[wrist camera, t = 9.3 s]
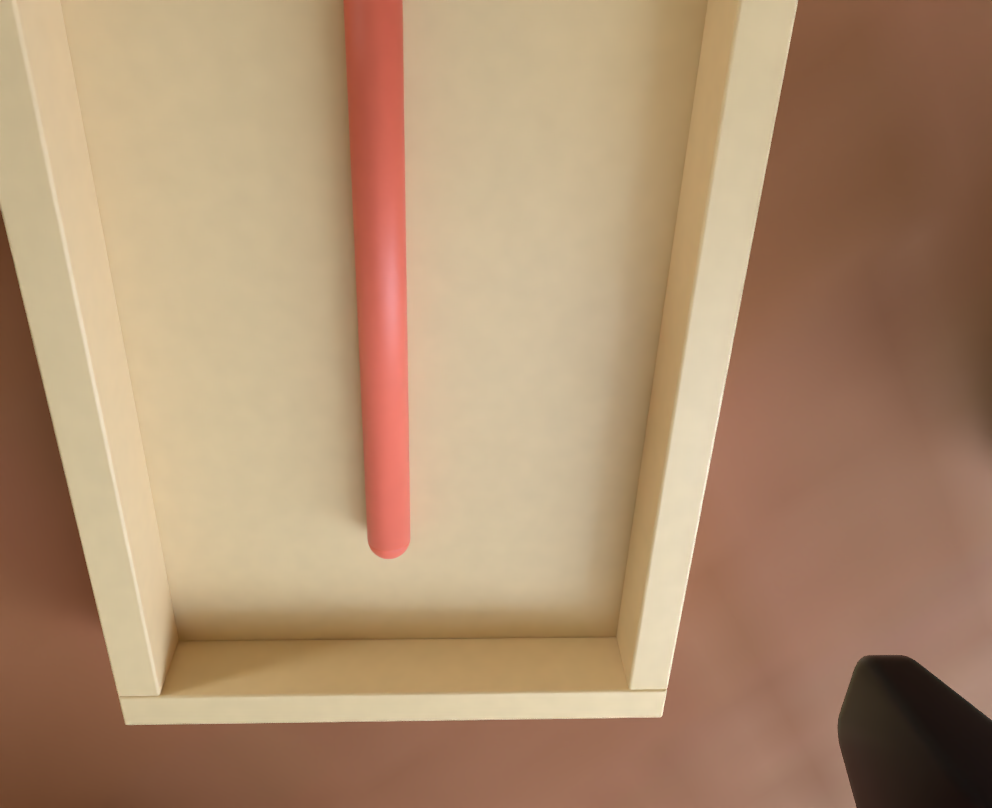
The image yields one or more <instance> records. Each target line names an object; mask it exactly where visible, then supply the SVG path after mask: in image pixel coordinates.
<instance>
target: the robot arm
mask: <svg viewBox="0 0 992 808" xmlns="http://www.w3.org/2000/svg"><path fill="white" fill-rule="evenodd" d="M838 738H839V744H840V748H841V752H842V755H843V759H844V763H845V766H846V770H847V774H848V777H849V781H850V785H851V788H852V792H853V796H854V799H855V803H856V807H857V808H992V720H991V719H989V718H988V717H987V716H986V715H984V714H983V713H982V712H980V711H979V710H978V709H977V708H975V707H974V706H973V705H971V704H970V703H969V702H968V701H966V700H965V699H964V698H962V697H961V696H960V695H959V694H957V693H956V692H955V691H954V690H952V689H951V688H950V687H948V686H947V685H946V684H945V683H943V682H942V681H941V680H939V679H938V678H937V677H936V676H934V675H933V674H932V673H930V672H929V671H928V670H927V669H925V668H924V667H923V666H922V665H920V664H919V663H918V662H916V661H915V660H913V659H911V658H909V657H907V656H902V655H868V656H865V657H863V658H861V659H860V660H859V661H858V662H857V665H856V667H855V669H854V672H853V675H852V678H851V681H850V684H849V687H848V690H847V693H846V696H845V699H844V702H843V705H842V708H841V711H840V714H839V719H838Z"/></svg>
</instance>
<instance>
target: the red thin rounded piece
mask: <svg viewBox="0 0 992 808" xmlns="http://www.w3.org/2000/svg"><path fill="white" fill-rule="evenodd" d="M343 3H344V25H345V48H346V70H347V93H348V115H349V137H350V160H351V182H352V204H353V227H354V249H355V271H356V294H357V316H358V338H359V361H360V383H361V405H362V428H363V450H364V472H365V495H366V517H367V539H368V544H369V547H370V549H371V550H372V552H373V553H374V554H375V555H377V556H378V557H380V558H383V559H394V558H397V557H399V556H400V555H402V554H403V553H404V552H405V551H406V550H407V548H408V546H409V543H410V475H409V406H408V338H407V269H406V201H405V132H404V63H403V0H343Z"/></svg>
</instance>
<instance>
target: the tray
mask: <svg viewBox="0 0 992 808" xmlns="http://www.w3.org/2000/svg"><path fill="white" fill-rule="evenodd" d="M797 3H798V0H403V63H404V132H405V201H406V269H407V338H408V406H409V475H410V543H409V546H408V548H407V550H406V551H405V552H404V553H403V554H402V555H400V556H399V557H397V558H394V559H383V558H380V557H378V556H377V555H375V554H374V553H373V552H372V550H371V549H370V547H369V544H368V539H367V517H366V495H365V472H364V450H363V428H362V405H361V383H360V361H359V338H358V316H357V294H356V271H355V249H354V227H353V204H352V182H351V160H350V137H349V115H348V93H347V70H346V48H345V25H344V3H343V0H0V208H1V212H2V216H3V220H4V224H5V229H6V233H7V237H8V241H9V245H10V249H11V253H12V258H13V262H14V266H15V270H16V274H17V278H18V282H19V287H20V291H21V295H22V299H23V303H24V307H25V311H26V316H27V320H28V324H29V328H30V332H31V336H32V340H33V345H34V349H35V353H36V357H37V361H38V365H39V369H40V374H41V378H42V382H43V386H44V390H45V394H46V398H47V403H48V407H49V411H50V415H51V419H52V423H53V427H54V432H55V436H56V440H57V444H58V448H59V452H60V456H61V461H62V465H63V469H64V473H65V477H66V481H67V485H68V490H69V494H70V498H71V502H72V506H73V510H74V514H75V519H76V523H77V527H78V531H79V535H80V539H81V543H82V548H83V552H84V556H85V560H86V564H87V568H88V572H89V577H90V581H91V585H92V589H93V593H94V597H95V601H96V606H97V610H98V614H99V618H100V622H101V626H102V630H103V635H104V639H105V643H106V647H107V651H108V655H109V659H110V664H111V668H112V672H113V676H114V680H115V684H116V688H117V693H118V695H119V700H120V705H121V709H122V713H123V717H124V721H125V724H126V725H159V724H229V723H299V722H368V721H438V720H508V719H577V718H647V717H661V716H662V714H663V708H664V703H665V698H666V693H667V687H668V682H669V676H670V671H671V666H672V661H673V655H674V650H675V645H676V640H677V634H678V629H679V624H680V619H681V613H682V608H683V603H684V598H685V592H686V587H687V582H688V576H689V571H690V566H691V561H692V555H693V550H694V545H695V540H696V534H697V529H698V524H699V519H700V513H701V508H702V503H703V498H704V492H705V487H706V482H707V477H708V471H709V466H710V461H711V456H712V450H713V445H714V440H715V435H716V429H717V424H718V419H719V413H720V408H721V403H722V398H723V392H724V387H725V382H726V377H727V371H728V366H729V361H730V356H731V350H732V345H733V340H734V335H735V329H736V324H737V319H738V314H739V308H740V303H741V298H742V293H743V287H744V282H745V277H746V272H747V266H748V261H749V256H750V250H751V245H752V240H753V235H754V229H755V224H756V219H757V214H758V208H759V203H760V198H761V193H762V187H763V182H764V177H765V172H766V166H767V161H768V156H769V151H770V145H771V140H772V135H773V130H774V124H775V119H776V114H777V109H778V103H779V98H780V93H781V88H782V82H783V77H784V72H785V66H786V61H787V56H788V51H789V45H790V40H791V35H792V30H793V24H794V19H795V14H796V9H797Z"/></svg>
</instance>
